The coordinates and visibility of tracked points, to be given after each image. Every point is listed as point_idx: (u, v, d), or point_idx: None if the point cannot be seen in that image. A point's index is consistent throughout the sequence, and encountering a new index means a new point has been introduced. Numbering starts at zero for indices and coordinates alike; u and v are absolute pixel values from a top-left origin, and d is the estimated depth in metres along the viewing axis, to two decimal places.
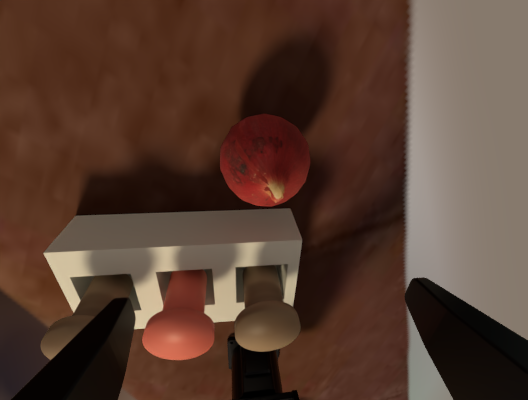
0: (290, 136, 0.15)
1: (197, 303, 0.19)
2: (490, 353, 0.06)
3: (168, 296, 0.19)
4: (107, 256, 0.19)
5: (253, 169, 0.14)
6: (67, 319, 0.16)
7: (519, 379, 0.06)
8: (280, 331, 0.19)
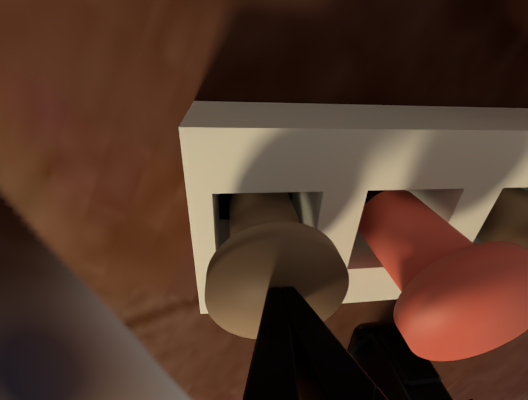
0: None
1: None
2: (310, 372, 0.06)
3: (410, 233, 0.10)
4: (298, 147, 0.09)
5: None
6: (265, 227, 0.08)
7: None
8: None
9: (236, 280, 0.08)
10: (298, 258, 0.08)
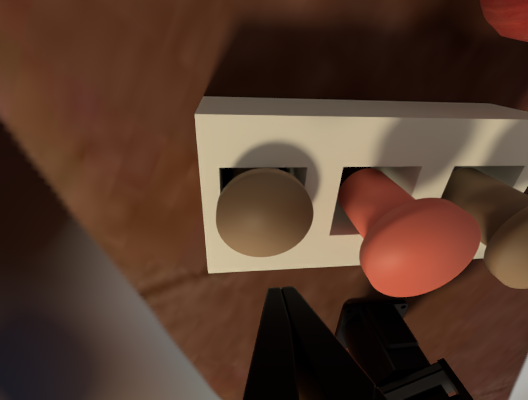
0: None
1: None
2: (310, 372, 0.06)
3: (375, 199, 0.12)
4: (286, 130, 0.12)
5: None
6: (256, 170, 0.12)
7: None
8: None
9: (237, 206, 0.12)
10: (277, 191, 0.12)
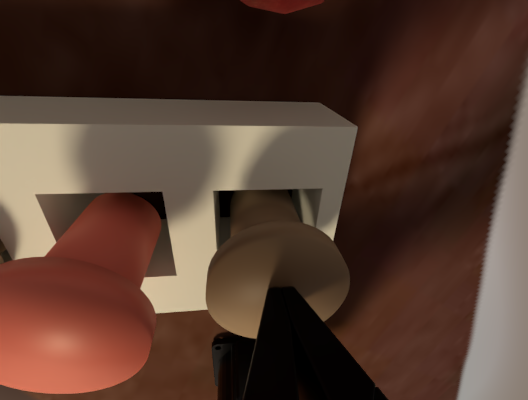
0: None
1: (119, 258, 0.08)
2: (310, 372, 0.06)
3: None
4: None
5: None
6: None
7: None
8: (306, 292, 0.09)
9: None
10: None
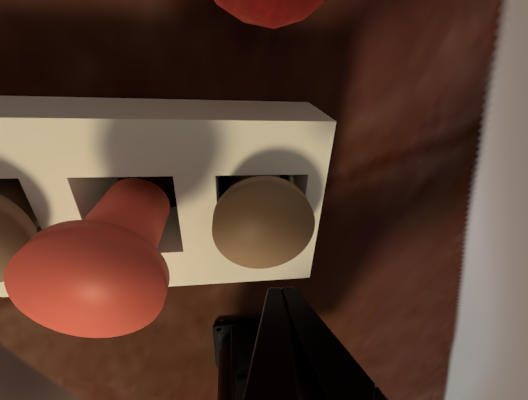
0: None
1: (139, 228, 0.10)
2: (310, 372, 0.06)
3: (85, 217, 0.10)
4: None
5: None
6: None
7: None
8: (283, 229, 0.12)
9: None
10: None
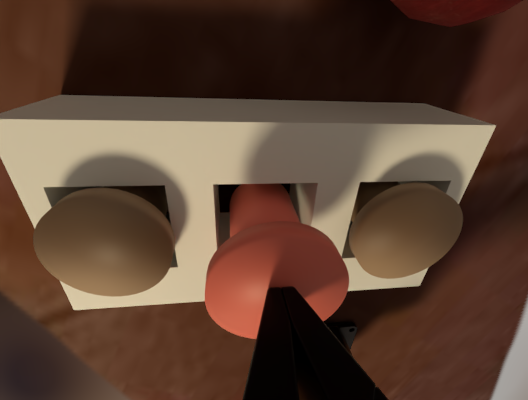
0: None
1: None
2: (310, 372, 0.06)
3: (243, 218, 0.10)
4: (120, 139, 0.09)
5: None
6: (82, 192, 0.09)
7: None
8: (428, 238, 0.11)
9: (59, 238, 0.09)
10: (110, 218, 0.09)
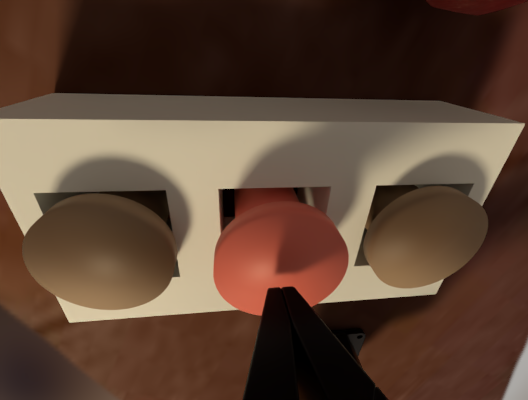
0: None
1: None
2: (310, 372, 0.06)
3: (247, 202, 0.11)
4: (117, 141, 0.08)
5: None
6: (75, 198, 0.08)
7: None
8: (449, 245, 0.11)
9: (51, 248, 0.08)
10: (106, 227, 0.08)
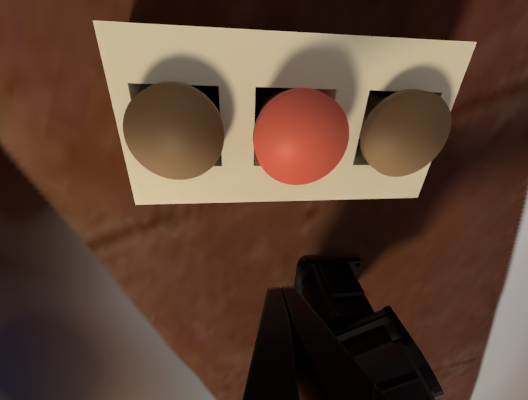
0: None
1: None
2: (310, 372, 0.06)
3: None
4: (189, 43, 0.12)
5: None
6: (160, 82, 0.12)
7: None
8: (423, 137, 0.14)
9: (142, 119, 0.12)
10: (181, 102, 0.12)
